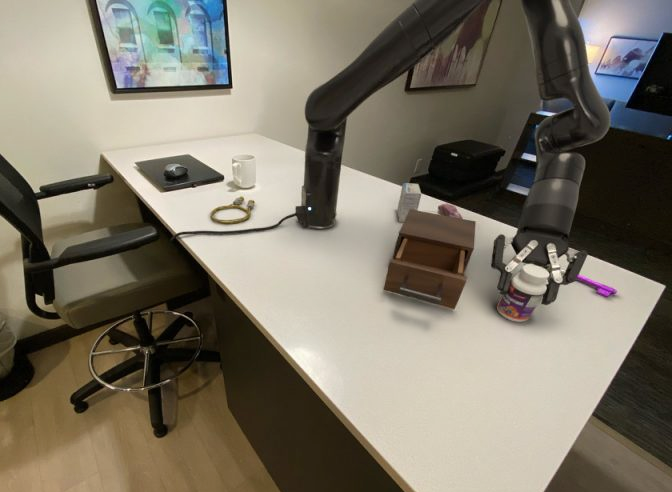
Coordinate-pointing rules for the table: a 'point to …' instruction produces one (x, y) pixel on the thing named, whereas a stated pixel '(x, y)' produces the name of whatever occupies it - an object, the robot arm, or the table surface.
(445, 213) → the video game controller
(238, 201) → the coiled yellow cable
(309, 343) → the table surface
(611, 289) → the purple and yellow rod
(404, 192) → the medicine box
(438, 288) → the drawer
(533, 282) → the pill bottle
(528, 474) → the table surface
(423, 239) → the cabinet
